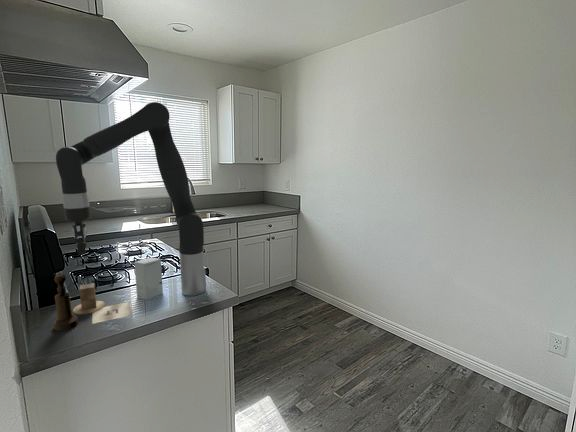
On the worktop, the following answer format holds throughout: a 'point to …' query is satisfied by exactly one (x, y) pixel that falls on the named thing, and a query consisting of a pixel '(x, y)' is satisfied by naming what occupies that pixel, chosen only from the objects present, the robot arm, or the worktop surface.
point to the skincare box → (148, 278)
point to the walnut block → (87, 296)
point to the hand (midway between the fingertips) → (82, 250)
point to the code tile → (111, 312)
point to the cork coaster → (98, 306)
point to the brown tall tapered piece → (63, 307)
